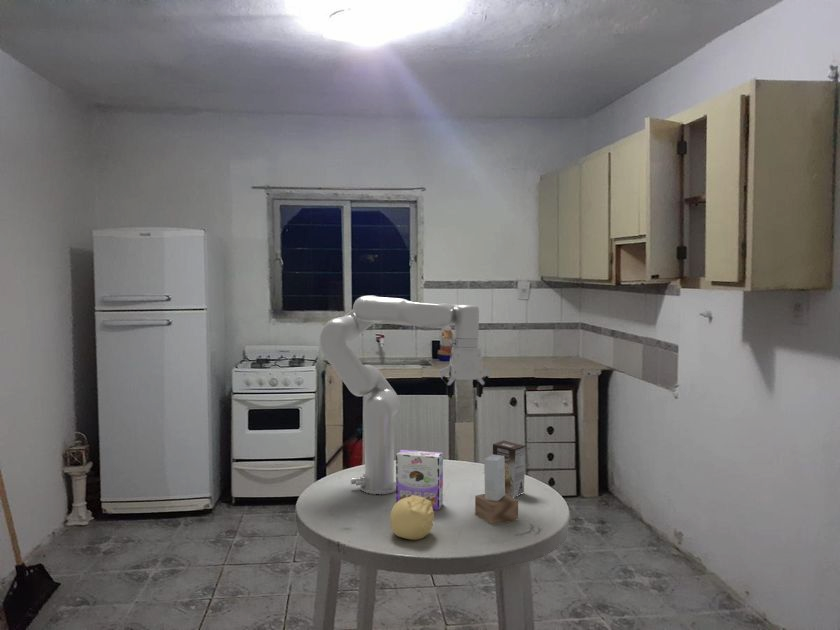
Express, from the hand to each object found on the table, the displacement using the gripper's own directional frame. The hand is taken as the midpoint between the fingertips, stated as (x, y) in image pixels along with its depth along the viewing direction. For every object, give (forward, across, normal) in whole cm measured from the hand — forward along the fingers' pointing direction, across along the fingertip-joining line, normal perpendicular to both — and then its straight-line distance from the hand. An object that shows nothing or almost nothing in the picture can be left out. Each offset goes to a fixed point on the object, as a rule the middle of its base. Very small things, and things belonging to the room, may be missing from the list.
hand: (464, 396), depth 208 cm
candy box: (+33, -15, -6) cm, 36 cm away
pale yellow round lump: (+33, -22, -28) cm, 49 cm away
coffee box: (+32, +16, -1) cm, 36 cm away
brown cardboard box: (+32, +5, -21) cm, 38 cm away
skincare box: (+26, +4, -20) cm, 33 cm away
